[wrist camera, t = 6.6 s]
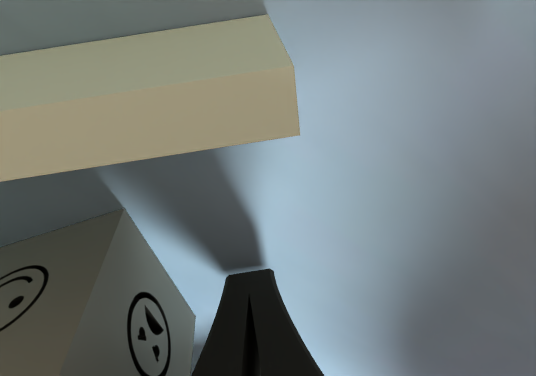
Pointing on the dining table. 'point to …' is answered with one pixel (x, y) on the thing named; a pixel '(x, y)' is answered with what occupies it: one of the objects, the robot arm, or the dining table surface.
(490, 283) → the dining table surface
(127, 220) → the beige symbol cube
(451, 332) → the dining table surface
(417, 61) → the dining table surface
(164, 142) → the bin
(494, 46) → the dining table surface
